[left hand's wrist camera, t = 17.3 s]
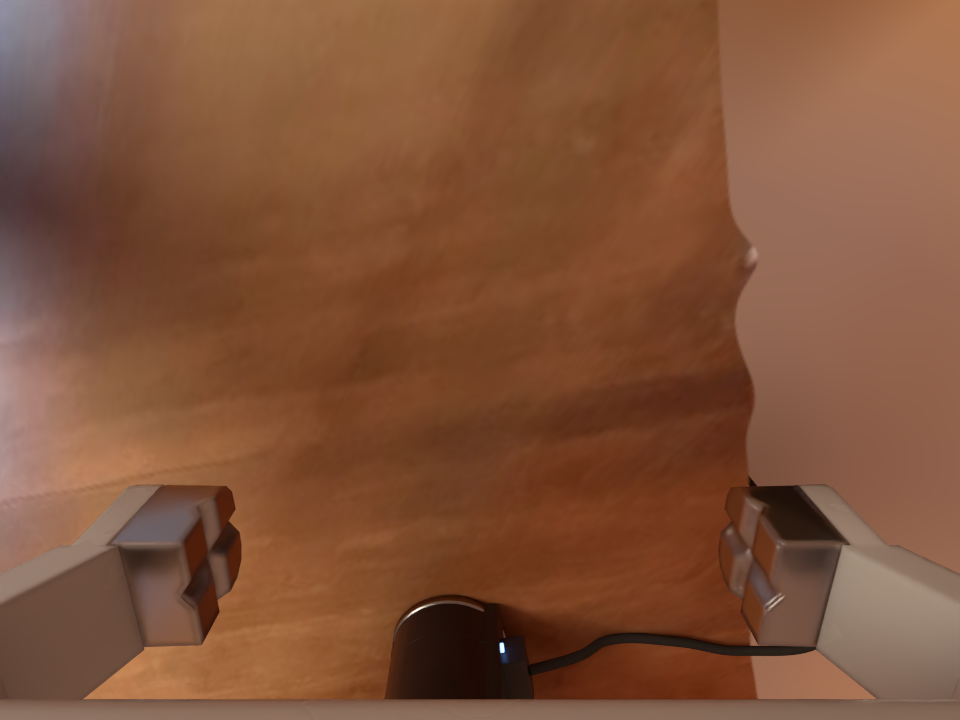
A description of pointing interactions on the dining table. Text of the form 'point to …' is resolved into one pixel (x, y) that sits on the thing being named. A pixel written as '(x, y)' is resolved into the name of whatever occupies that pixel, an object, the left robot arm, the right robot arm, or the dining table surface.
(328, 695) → the dining table surface
